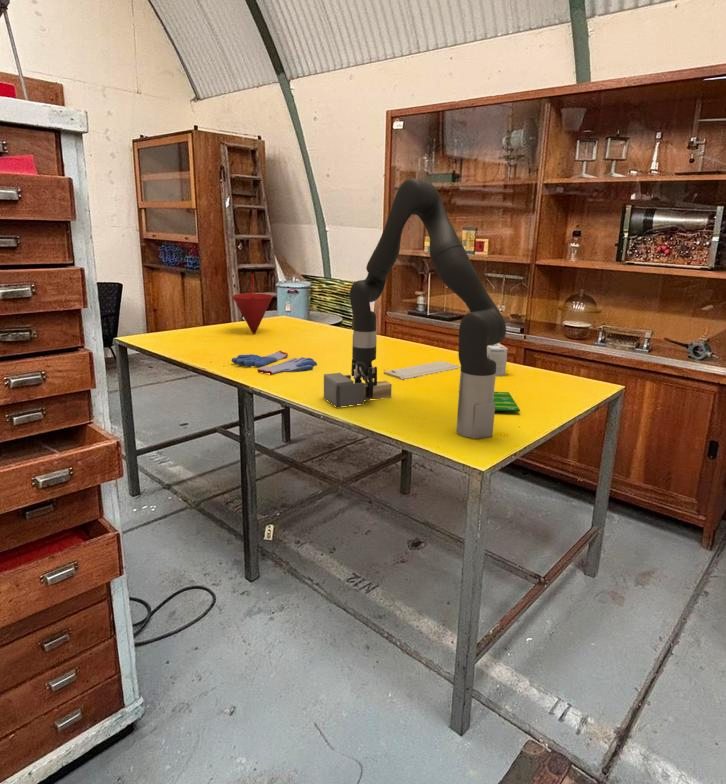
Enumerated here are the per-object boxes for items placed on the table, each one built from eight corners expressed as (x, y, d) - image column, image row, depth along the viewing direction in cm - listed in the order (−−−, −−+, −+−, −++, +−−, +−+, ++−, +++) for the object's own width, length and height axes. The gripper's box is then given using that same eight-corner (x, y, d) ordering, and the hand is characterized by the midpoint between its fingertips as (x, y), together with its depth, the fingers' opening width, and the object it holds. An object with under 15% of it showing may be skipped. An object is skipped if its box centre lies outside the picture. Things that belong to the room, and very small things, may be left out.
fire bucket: (233, 331, 292) (230, 271, 284) (271, 330, 297) (270, 271, 288) (234, 339, 272) (231, 275, 264) (276, 338, 277) (274, 275, 268)
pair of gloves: (327, 367, 226) (327, 358, 225) (278, 379, 207) (278, 370, 206) (273, 354, 245) (273, 346, 244) (224, 364, 226) (223, 355, 225)
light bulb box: (480, 369, 225) (482, 342, 222) (497, 369, 226) (499, 342, 223) (488, 376, 215) (490, 348, 212) (505, 376, 216) (508, 348, 213)
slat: (391, 398, 187) (391, 383, 185) (340, 405, 179) (340, 389, 177) (385, 395, 190) (385, 380, 189) (335, 401, 182) (335, 386, 181)
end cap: (363, 404, 179) (364, 380, 176) (336, 408, 175) (336, 383, 173) (349, 395, 188) (349, 371, 186) (323, 398, 184) (323, 374, 182)
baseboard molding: (463, 370, 226) (441, 364, 235) (463, 363, 225) (441, 357, 234) (404, 382, 207) (383, 375, 216) (405, 374, 206) (383, 368, 215)
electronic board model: (521, 393, 170) (470, 391, 171) (519, 415, 172) (468, 413, 173) (504, 368, 199) (460, 367, 200) (502, 387, 201) (459, 386, 202)
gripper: (385, 348, 175) (383, 399, 179) (365, 339, 187) (364, 387, 192) (363, 349, 172) (362, 401, 176) (344, 341, 184) (344, 389, 189)
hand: (363, 394), depth 184 cm, fingers open, 8 cm apart
